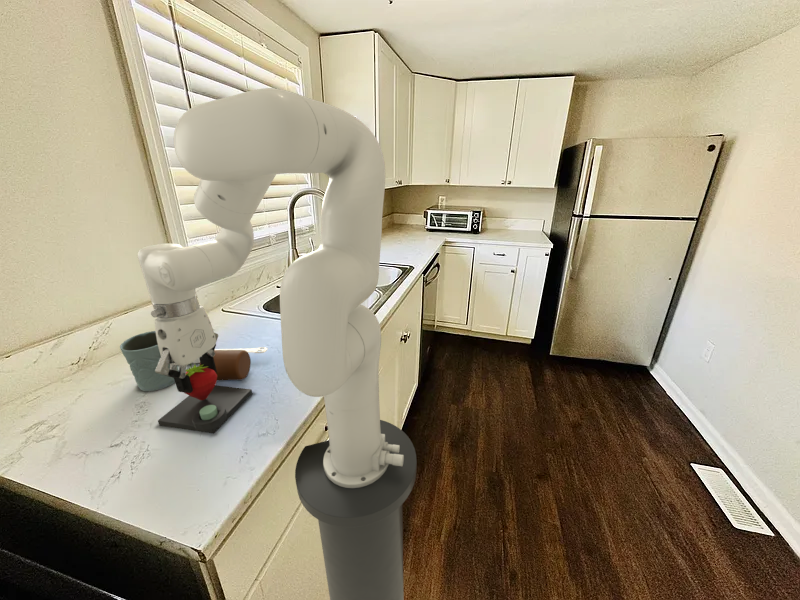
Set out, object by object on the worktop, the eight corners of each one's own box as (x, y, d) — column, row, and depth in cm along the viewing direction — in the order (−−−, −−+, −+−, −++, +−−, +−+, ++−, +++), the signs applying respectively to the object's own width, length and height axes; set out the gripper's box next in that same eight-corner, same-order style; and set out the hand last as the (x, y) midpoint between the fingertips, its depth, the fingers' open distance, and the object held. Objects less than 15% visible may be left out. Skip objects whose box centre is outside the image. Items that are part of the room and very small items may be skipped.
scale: (256, 394, 77) (254, 383, 76) (214, 438, 64) (211, 426, 63) (205, 388, 80) (202, 378, 79) (155, 429, 67) (151, 417, 66)
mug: (258, 374, 90) (224, 374, 90) (258, 346, 91) (225, 347, 91) (237, 383, 78) (198, 383, 78) (237, 351, 79) (198, 351, 79)
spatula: (271, 353, 96) (270, 344, 95) (264, 363, 90) (263, 354, 89) (174, 355, 95) (171, 346, 94) (161, 365, 89) (158, 356, 88)
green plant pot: (171, 366, 89) (159, 327, 85) (191, 377, 84) (179, 336, 80) (127, 385, 81) (112, 343, 77) (146, 399, 76) (130, 354, 72)
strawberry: (219, 404, 72) (209, 365, 68) (180, 412, 70) (168, 372, 66) (224, 388, 77) (214, 352, 73) (188, 395, 75) (176, 358, 71)
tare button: (221, 411, 68) (219, 405, 67) (210, 421, 65) (208, 415, 65) (208, 409, 68) (206, 403, 68) (197, 419, 66) (195, 413, 65)
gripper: (155, 326, 57) (181, 409, 63) (223, 292, 72) (238, 362, 79) (119, 323, 58) (149, 405, 64) (194, 291, 74) (211, 359, 80)
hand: (198, 381), depth 72 cm, fingers closed on strawberry, 6 cm apart
